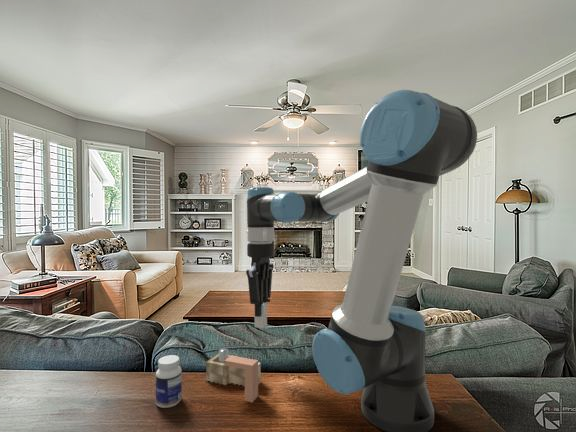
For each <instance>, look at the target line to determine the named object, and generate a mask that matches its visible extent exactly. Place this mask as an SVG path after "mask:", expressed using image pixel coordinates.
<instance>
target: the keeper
mask: <svg viewBox="0 0 576 432" xmlns="http://www.w3.org/2000/svg"><path fill="white" fill-rule="evenodd" d="M236 356H237V355H232V356H230V357H228V358H227V359H226V360H225V361H224V366H229V367H235V368H240V369H245V386H244V402H248V403H252V404H253V402H255V400H256V399H257V398H258V397H259V384H258V362H259V360H258V359H255V358H254V359H252V358H246V357H243V356H242V357H240V356H238V357H236Z"/></svg>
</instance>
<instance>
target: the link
mask: <svg viewBox="0 0 576 432" xmlns="http://www.w3.org/2000/svg"><path fill="white" fill-rule="evenodd" d="M230 356H233V355H232V354H231V355H230V354H228V357H230ZM235 356H236V357H239V356H238V355H235ZM261 364H262V362H260V361H258V383H259V382H260V381H261V376H262V375H261V370H262V369H261V367H262V366H261ZM205 369H206V371H205V373H206V374H205V375H206V378H205V379H206V382H208V381H210V382H209V383H213V382H215V383H214V384H217V383H219V384H218V385H222V384H223V386H227V385H228V384H231V383H234V384H233V385H236V384H238V385H237V386H240V385H242V386H241V387H245V369H240V368H235V367H229V366H224V363H219V353H217V354H216V355H215V356H213V357H212V358H209V359H208V360H207V361H206V368H205ZM261 382H262V381H261ZM261 382H260V383H261ZM260 383H259V384H260Z"/></svg>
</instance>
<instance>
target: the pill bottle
mask: <svg viewBox="0 0 576 432" xmlns="http://www.w3.org/2000/svg"><path fill="white" fill-rule="evenodd" d="M157 366H158V369H157V370H156V372H155V404H156V406H157V407H159V408H162V409H167V408H172V407H174V406H177V405H178V404H179V403H180V402H181V401H182V392H183V391H182V384H183V383H182V382H183V381H182V376H183V375H182V373H183V371H182V367H181V365H180V357H179V356H178V355H175V354H173V355H172V354H169V355H168V354H167V355H165V356H162V357H160V358H159V359H158V361H157Z"/></svg>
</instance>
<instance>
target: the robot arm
mask: <svg viewBox="0 0 576 432" xmlns="http://www.w3.org/2000/svg"><path fill="white" fill-rule="evenodd" d="M477 141H478V130H477V126H476V123H475V121H474V119H473V118H472V116H471V115H470V114H469V113H468V112H466V111H465V110H463V109H462V108H460V107H458V106H455V105H452V104H449V103H448V102H444V101H442V100H440V99H438V98H436V97H434V96H432V95H431V94H428V93H425V92H418V91H414V90H411V89H401V90H395V91H392V92H390V93H387V94H386V95H384V96H383V97H382V98H381V99H380V100H379V101H378V102H376V103H374V104H373V105H372V107H371V108H370V109H369V111H367V113H366V115H365V117H364V119H363V122H362V124H361V127H360V131H359V144H360V146H361V147H362V153H363V155H364V156H365V157H366V158H367V166H365V167H363V168H362V169H359V170H358V171H356V172H354V173H352V174H350V175H348V176H347V177H345V178H343V179H341V180H340V181H338V182H336V183H334V184H332V185H330V186H328V187H326V188H325V189H323V190H321V191H319V192H317V193H297V192H295V191H282V192H275V191H274V188H272V187H268V186H267V187H265V186H257V187H250V188H249V189H248V190H247V199H246V217H247V218H246V221H247V222H246V223H247V224H246V225H247V227H246V228H247V230H246V234H247V238H246V239H247V242H249V243H247V244H246V245H247V248H246V249H247V250H246V251H247V252H246V255H247V257H249V258H251V263H250V266H251V268H250V269H246V271H245V273H246V276H247V282H248V292H249V293H248V294H249V302H250V303H249V304H250V305H254V328H259V329H264V328H265V327H267V326H268V303H270V302H271V295H272V282H273V281H272V280H273V271H274V267H275V266H274V264H273V263H271V262H270V258H273V257H274V256H275V244H274V243H273V242H274V241H275V223H297V222H298V223H299V222H301V223H302V222H322V223H325V222H331V221H334V220H336V219H337V217H338V216H339V215H340V214H342V213H344V212H346V211H348V210H350V209H353V208H355V207H358V206H360V205H362V204H364V203H367V204H366V206H365V207H366V208H365V211H364V215H363V219H362V222H361V223H362V224H361V227H360V231H359V236H358V240H357V243H356V248H355V251H354V257H353V259H352V264H351V268H350V273H349V276H348V281H347V285H346V288H345V294H344V298H343V301H342V303H340V304H339V305H336V306H335V307H334V308H333V310H332V313H331V316H330V321H329V324H328V327H327V328H323V329H320V330H319V331H318V332H317V333H316V334H315V335H314V336H313V339H312V345H311V346H312V347H311V348H312V350H311V351H312V352H311V353H312V357H313V362H314V363H315V367H316V369H317V371H318V373H319V375H320V377H321V378H322V380H323V381H324V382H325V384H326V385H327V386H329V387H330V389H332V390H333V391H335V392H336V393H338V394H341V395H350V394H352V393H354V392H361V391H362V390H363V391H362V395H361V399H360V404H361V406H360V408H361V413H362V415H363V417H364V418H365V419H366V420H367V421H368V422H369V423H370V424H371V425H373V427H376V428H378V429H380V430H382V431H384V432H430V430H432V428H433V427H434V424H435V410H434V409H435V408H434V405H433V403H432V400H431V396H430V393H429V390H428V387H427V383H426V333H427V331H426V326H425V318H424V316H423V315H422V314H421V313H420V312H419V311H417V310H415V309H413V308H412V309H411V308H408V307H405V306H398V305H393V304H394V300H395V297H396V293H397V289H398V286H399V282H400V279H401V276H402V275H401V274H402V271H403V268H404V264H405V261H406V257H407V254H408V250H409V246H410V244H411V239H412V237H413V232H414V230H415V227H416V226H415V225H416V221H417V219H418V215H419V212H420V208H421V205H422V201H423V197H424V195H425V194H426V193H427V192H428V191H430V190H432V189H433V188H435V187H436V186H437V184H438V182H439V178H440V176H443V175H445V174H448V173H451V172H452V171H455V170H457V169H458V168H460V167H461V166H463V165H464V164H465V163H467V161H468V160H469V159H470V158H471V156H472V155H473V153H474V150H475V148H476V146H477V143H478V142H477Z"/></svg>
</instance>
